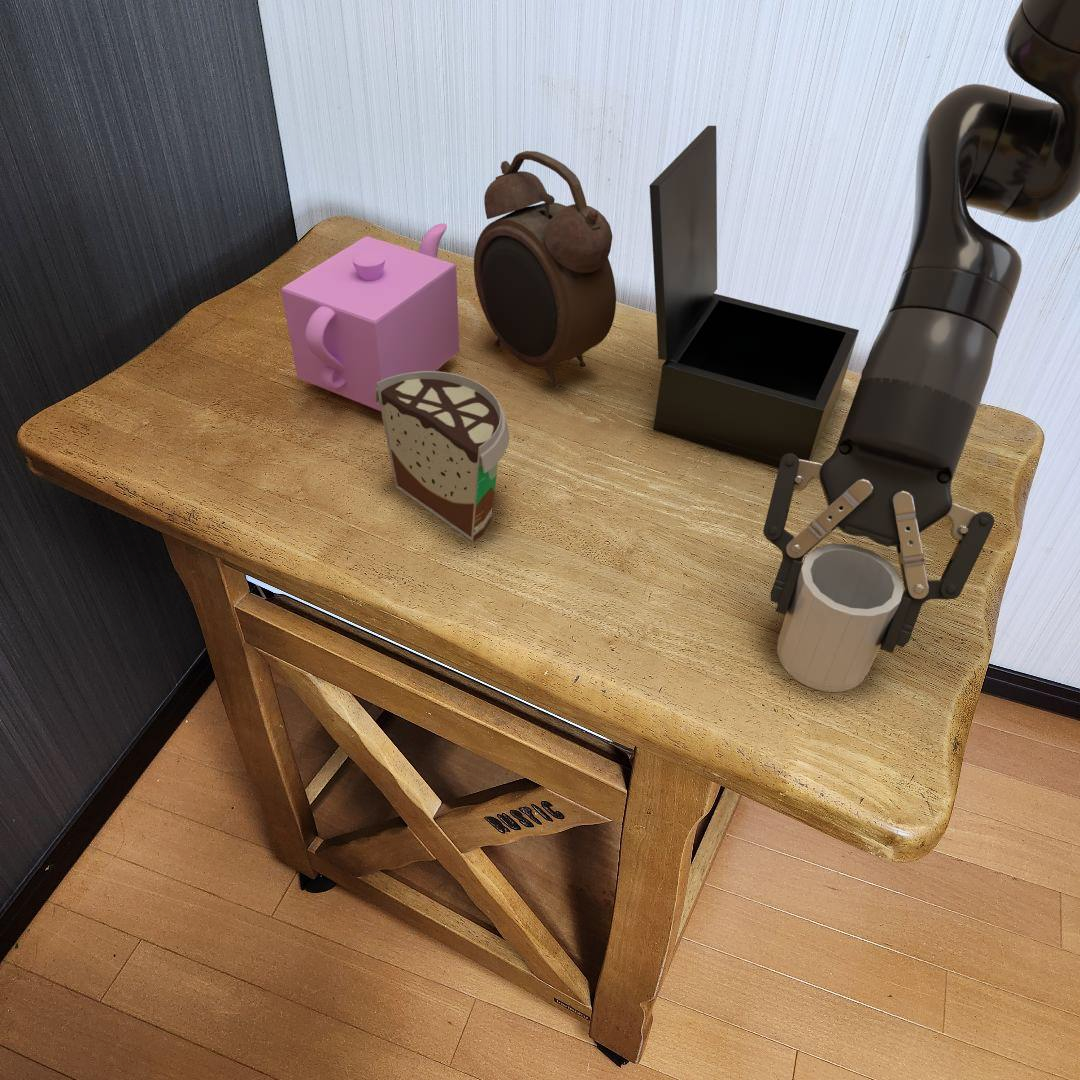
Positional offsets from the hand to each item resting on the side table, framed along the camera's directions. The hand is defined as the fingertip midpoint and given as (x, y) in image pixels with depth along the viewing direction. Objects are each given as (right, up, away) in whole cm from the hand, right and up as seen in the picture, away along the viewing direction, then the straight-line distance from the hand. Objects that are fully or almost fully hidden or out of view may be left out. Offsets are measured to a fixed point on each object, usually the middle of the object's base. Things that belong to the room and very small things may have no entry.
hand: (832, 631), depth 60 cm
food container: (-26, +10, +15) cm, 32 cm away
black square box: (0, +18, +25) cm, 31 cm away
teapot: (-34, +22, +28) cm, 49 cm away
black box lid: (-7, +31, +17) cm, 36 cm away
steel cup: (+1, -2, +4) cm, 5 cm away
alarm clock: (-20, +23, +30) cm, 43 cm away
